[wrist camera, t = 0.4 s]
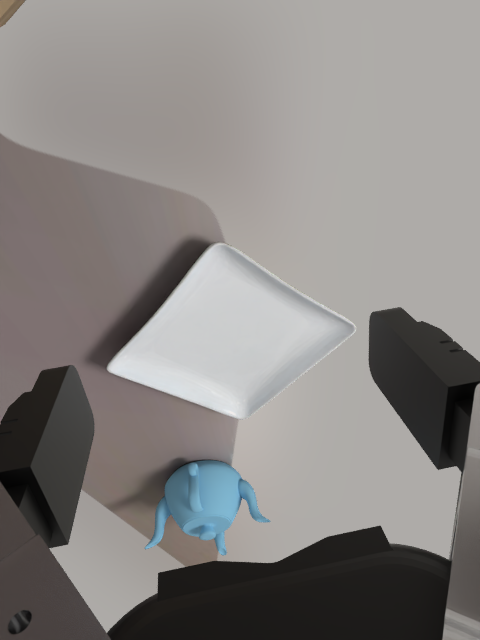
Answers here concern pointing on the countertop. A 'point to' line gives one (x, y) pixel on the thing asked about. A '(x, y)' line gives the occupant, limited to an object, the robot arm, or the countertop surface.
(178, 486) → the teapot
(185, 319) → the salad plate
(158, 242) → the countertop surface
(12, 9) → the plate
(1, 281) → the countertop surface
